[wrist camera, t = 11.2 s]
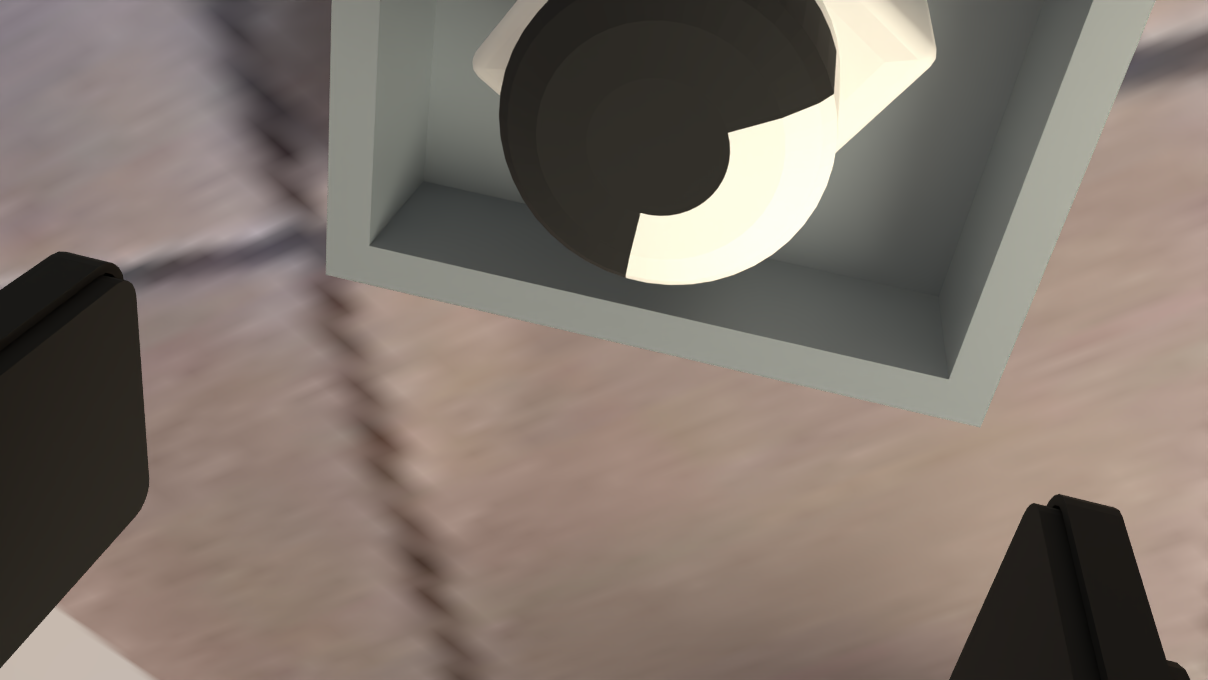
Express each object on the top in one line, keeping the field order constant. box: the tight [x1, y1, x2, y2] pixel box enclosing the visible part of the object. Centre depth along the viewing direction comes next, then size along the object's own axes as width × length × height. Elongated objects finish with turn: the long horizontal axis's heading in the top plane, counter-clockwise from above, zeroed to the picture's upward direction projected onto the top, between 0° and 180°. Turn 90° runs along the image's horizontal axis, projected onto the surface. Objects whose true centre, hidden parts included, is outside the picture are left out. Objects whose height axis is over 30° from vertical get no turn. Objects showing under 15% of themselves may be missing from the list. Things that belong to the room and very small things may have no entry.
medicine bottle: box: [472, 0, 936, 285], centre depth 24 cm, size 7×7×12 cm
